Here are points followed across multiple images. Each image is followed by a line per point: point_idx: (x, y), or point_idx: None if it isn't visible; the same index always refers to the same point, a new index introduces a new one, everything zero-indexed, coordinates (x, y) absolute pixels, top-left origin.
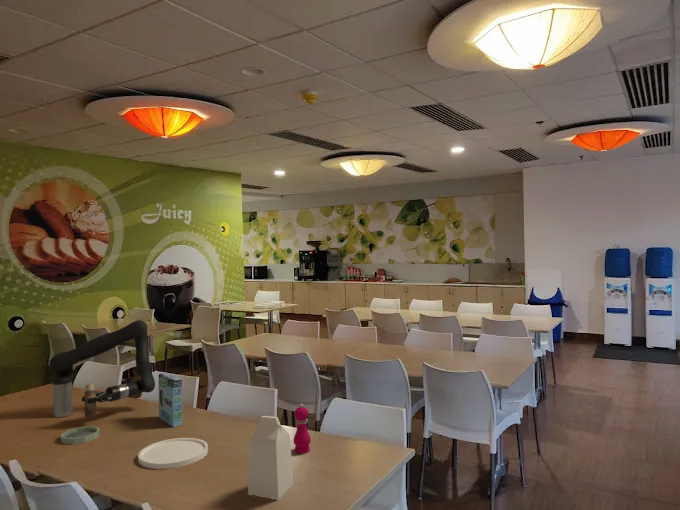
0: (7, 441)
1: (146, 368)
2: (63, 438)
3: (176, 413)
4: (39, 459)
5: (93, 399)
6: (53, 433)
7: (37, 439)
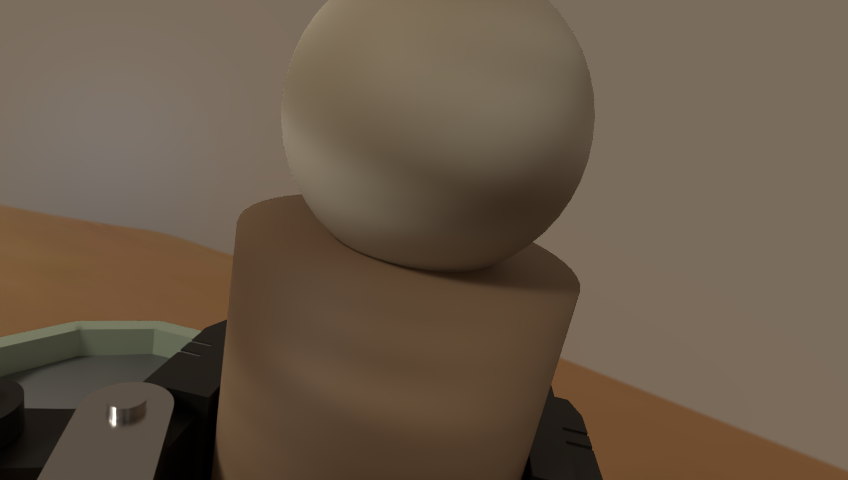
0: None
1: None
2: (179, 329)
3: None
4: (158, 257)
5: (172, 359)
6: None
7: None
